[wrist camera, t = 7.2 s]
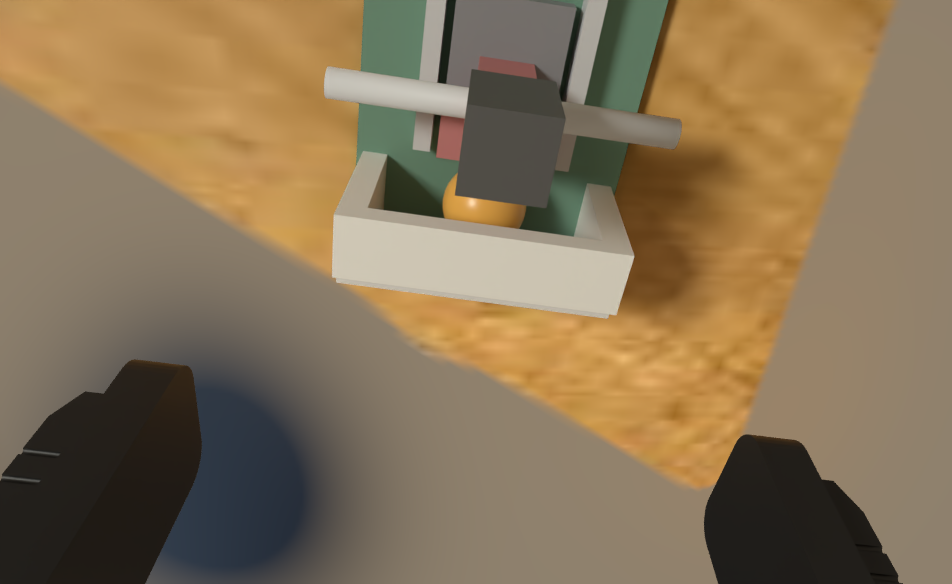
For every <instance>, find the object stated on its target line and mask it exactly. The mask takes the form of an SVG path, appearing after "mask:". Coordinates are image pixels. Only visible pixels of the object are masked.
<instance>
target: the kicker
mask: <svg viewBox="0 0 952 584" xmlns="http://www.w3.org/2000/svg"><path fill="white" fill-rule="evenodd" d="M576 9H577V8H576V6H575V4H572V3H566V2H560V1H553V0H456V5H455V14H454V22H453V31H452V39H451V48H450V56H449V65H448V73H447V82H446V84H442V83H436V82H429V81H422V80H416V79H409V78H402V77H396V76H389V75H382V74H376V73H369V72H362V71H356V70H349V69H343V68H336V67H329V66H328V67H327V70H326V74H325V80H324V94H325V98H328V99H335V100H342V101H349V102H355V103H362V104H369V105H376V106H382V107H389V108H396V109H403V110H409V111H416V112H423V113H430V114H436V115H441V119H440V128H439V137H438V145H437V154H436V157H437V158H444V159H450V160H457V161H459V166H458V174H457V182H456V189H455V196H462V197H469V198H476V199H483V200H490V201H497V202H504V203H511V204H518V205H525V206H533V207H540V208H546V207H547V203H548V198H549V194H550V189H551V185H552V180H553V176H554V171H555V167H556V162H557V157H558V153H559V148H560V144H561V139H562V135H563V133H565V134H572V135H578V136H585V137H592V138H599V139H605V140H612V141H619V142H626V143H632V144H639V145H646V146H653V147H659V148H666V149H675V148H676V146H677V144H678V142H679V139H680V135H681V128H682V124H681V120H680V119H675V118H668V117H661V116H655V115H648V114H641V113H635V112H628V111H621V110H615V109H608V108H602V107H595V106H588V105H582V104H575V103H568V102H562V101H561V98H560V94H559V90H560V85H561V80H562V75H563V71H564V66H565V61H566V56H567V52H568V47H569V42H570V37H571V32H572V28H573V23H574V18H575V13H576Z"/></svg>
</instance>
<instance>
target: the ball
mask: <svg viewBox="0 0 952 584" xmlns="http://www.w3.org/2000/svg"><path fill="white" fill-rule="evenodd" d="M457 174H458V173H457ZM457 174H456V175H455V176H454V177H453V178H452V179H451V180H450V182H449V183H448V185H447V187H446V190H445V192H444V197H443V214H444V218H445V219H451V220H458V221H465V222H473V223H480V224H487V225H494V226H501V227H508V228H515V229H519V228H520V226H521V224H522V222H523V220H524V217H525V212H526V206H525V205H518V204H511V203H504V202H497V201H490V200H483V199H476V198H469V197H462V196H455V189H456V182H457Z"/></svg>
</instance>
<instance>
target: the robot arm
mask: <svg viewBox="0 0 952 584" xmlns="http://www.w3.org/2000/svg"><path fill="white" fill-rule="evenodd" d="M201 449H202V441H201V432H200V424H199V417H198V409H197V402H196V393H195V385H194V378H193V373H192V370H191V369H190V368H189V367H188V366H185V365H176V364H169V363H160V362H152V361H143V360H131V361H129V362H128V363H127V364H126V365H125V366H124V367H123V368H122V369H121V371H120V372H119V374H118V375H117V376H116V378H115V379H114V380H113V382H112V383H111V384H110V386H109V387H108V389H107V390H106V391H105V393H104V394H101V393H92V392H84V393H82V394H81V395H79V396H78V397H76V398H75V399H73V400H72V401H71V402H69V403H68V404H66V405H65V406H63V407H62V408H60V409H59V410H57V411H56V412H54V413H53V414H52V415H50V416H48V418H47V419H46V420H45V421H44V422H43V424H42V425H41V426H40V428H39V429H38V430H37V431H36V433H35V434H34V435H33V437H32V438H31V439H30V440H29V441H28V443H27V444H26V445H25V446H24V448H23V453H22V454H18V455H17V456H16V458H15V459H14V460H13V461H12V463H11V464H10V465H9V466H8V468H7V469H6V470H5V471H4V473H3V474H2V479H1V481H0V584H145V583H146V581H147V578H148V576H149V575H150V572H151V570H152V568H153V566H154V564H155V562H156V560H157V558H158V556H159V554H160V552H161V550H162V548H163V546H164V544H165V542H166V539H167V537H168V535H169V533H170V531H171V529H172V527H173V525H174V523H175V521H176V519H177V517H178V515H179V513H180V511H181V509H182V506H183V504H184V502H185V500H186V498H187V496H188V494H189V492H190V490H191V488H192V486H193V483H194V481H195V478H196V475H197V472H198V468H199V464H200V459H201ZM704 532H705V539H706V544H707V548H708V551H709V554H710V558H711V561H712V564H713V568H714V571H715V574H716V578H717V581H718V584H903V583H899V582H898V574H897V572H896V571H895V569H894V567H893V565H892V563H891V561H890V560H889V558H888V556H887V554H883V553H882V545H881V543H880V542H879V540H878V538H877V536H876V534H875V532H874V531H873V529H872V527H871V525H870V523H869V521H868V520H867V518H866V516H865V514H864V512H863V511H862V510H861V509H860V508H859V507H858V506H857V505H856V504H855V503H854V502H853V501H852V500H851V499H850V498H849V497H848V496H847V495H846V494H845V493H844V492H843V491H842V490H841V489H840V487H838V485H837V484H836V483H834V481H829V480H822V479H821V477H820V475H819V473H818V472H817V470H816V468H815V466H814V464H813V462H812V460H811V458H810V456H809V454H808V452H807V450H806V449H805V447H804V446H803V445H802V444H801V443H800V442H798V441H796V440H789V439H781V438H772V437H764V436H756V435H743V436H741V437H740V438H739V439H738V441H737V442H736V444H735V446H734V448H733V450H732V452H731V454H730V456H729V458H728V460H727V463H726V465H725V467H724V469H723V471H722V473H721V475H720V477H719V479H718V481H717V483H716V485H715V487H714V489H713V491H712V494H711V495H710V497H709V500H708V502H707V505H706V510H705V517H704Z"/></svg>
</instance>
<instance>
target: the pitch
mask: <svg viewBox="0 0 952 584" xmlns="http://www.w3.org/2000/svg"><path fill="white" fill-rule="evenodd" d="M553 1H560V2H566V3H572V4H575V6H576V8H577V9H576V13H575V18H574V23H573V28H572V32H571V37H570V42H569V47H568V52H567V56H566V61H565V66H564V71H563V75H562V80H561V85H560V90H559V94H560V98H561V101H562V102H568V103H575V104H582V105H588V106H595V107H602V108H608V109H615V110H621V111H628V112H635V113H637V112H638V108H639V105H640V101H641V97H642V94H643V90H644V87H645V83H646V79H647V76H648V72H649V69H650V65H651V61H652V58H653V54H654V51H655V47H656V43H657V40H658V36H659V33H660V29H661V25H662V22H663V18H664V15H665V11H666V7H667V4H668V0H553ZM455 5H456V0H364V13H363V34H362V55H361V71H362V72H369V73H376V74H382V75H389V76H396V77H402V78H409V79H416V80H422V81H429V82H436V83H442V84H446V82H447V73H448V65H449V56H450V48H451V39H452V31H453V22H454V14H455ZM440 119H441V115H436V114H430V113H423V112H416V111H409V110H403V109H396V108H389V107H382V106H376V105H369V104H362V103H359V118H358V139H357V160H356V165H357V163H358V161H359V159H360V157H361V154H362V152H363V151H367V152H374V153H381V154H387V168H386V181H385V195H384V209H383V210H387V211H394V212H401V213H408V214H415V215H422V216H430V217H437V218H444V214H443V197H444V192H445V190H446V187H447V185H448V183H449V182H450V180H451V179H452V178H453V177H454V176H455V175H456V174H457V173H458V166H459V161H457V160H450V159H444V158H437V157H436V154H437V145H438V137H439V128H440ZM628 144H629V143H626V142H619V141H612V140H605V139H599V138H592V137H585V136H578V135H572V134H565V133H563V135H562V139H561V144H560V148H559V153H558V157H557V162H556V167H555V171H554V176H553V180H552V185H551V189H550V194H549V198H548V203H547V207H546V208H540V207H533V206H526V212H525V217H524V220H523V222H522V224H521V226H520V228H519V229H523V230H530V231H537V232H544V233H551V234H558V235H566V236H573V237H574V234H575V230H576V226H577V222H578V218H579V214H580V210H581V206H582V202H583V198H584V194H585V190H586V186H587V183H589V184H596V185H603V186H610V187H611V189H612V192H613V195H615V191H616V188H617V184H618V180H619V177H620V173H621V170H622V166H623V162H624V159H625V155H626V151H627V148H628ZM444 219H445V218H444Z"/></svg>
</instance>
